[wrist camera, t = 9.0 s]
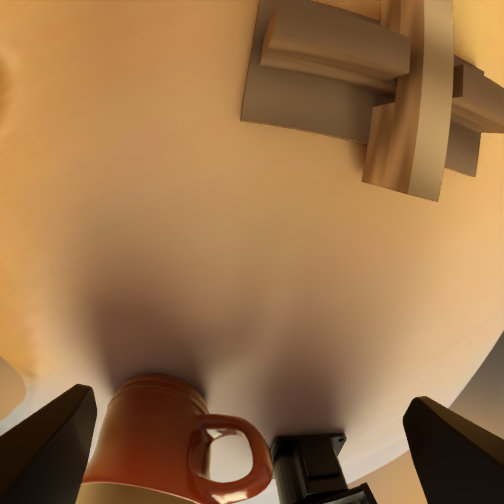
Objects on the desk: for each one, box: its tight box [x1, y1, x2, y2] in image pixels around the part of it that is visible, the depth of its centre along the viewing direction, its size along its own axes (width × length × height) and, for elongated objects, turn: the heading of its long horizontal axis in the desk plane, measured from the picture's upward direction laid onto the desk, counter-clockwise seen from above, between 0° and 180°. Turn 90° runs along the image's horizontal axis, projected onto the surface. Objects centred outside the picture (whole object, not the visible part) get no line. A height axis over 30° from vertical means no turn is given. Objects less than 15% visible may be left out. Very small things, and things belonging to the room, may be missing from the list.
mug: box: [76, 374, 273, 504], centre depth 17 cm, size 12×9×10 cm
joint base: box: [241, 0, 504, 177], centre depth 14 cm, size 8×16×6 cm, turn 82°
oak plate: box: [362, 0, 454, 202], centre depth 13 cm, size 12×2×5 cm, turn 172°
